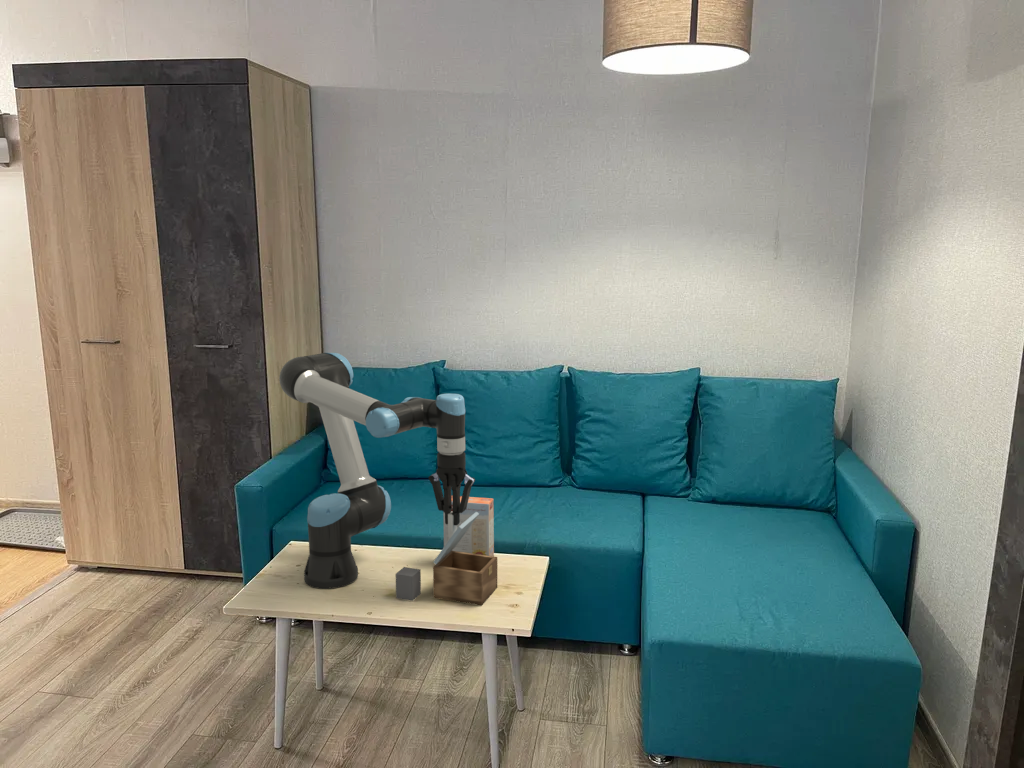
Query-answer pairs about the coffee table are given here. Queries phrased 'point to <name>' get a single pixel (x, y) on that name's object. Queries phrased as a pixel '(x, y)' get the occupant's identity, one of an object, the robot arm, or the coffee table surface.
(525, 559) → the coffee table surface
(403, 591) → the block
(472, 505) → the cracker box
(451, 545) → the lid
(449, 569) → the keepsake box
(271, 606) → the coffee table surface
